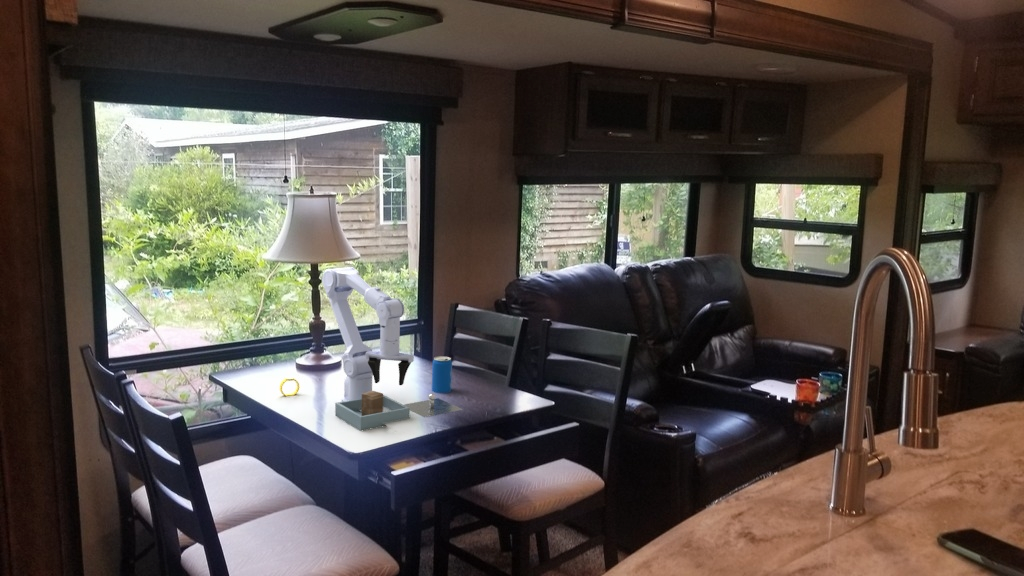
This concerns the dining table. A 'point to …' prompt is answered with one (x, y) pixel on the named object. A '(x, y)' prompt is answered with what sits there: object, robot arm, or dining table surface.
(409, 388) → the dining table surface
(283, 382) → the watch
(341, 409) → the bin
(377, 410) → the brown wooden block
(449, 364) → the beverage can
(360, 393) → the robot arm
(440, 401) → the stud base
